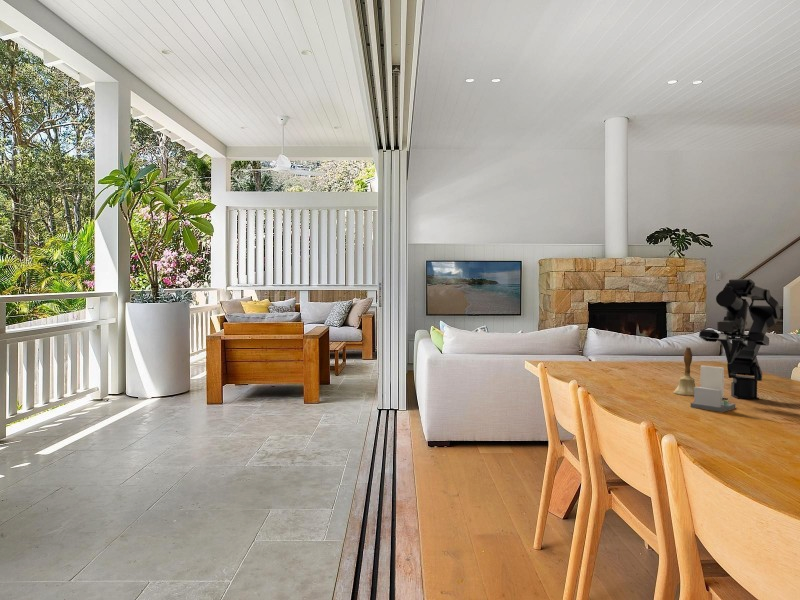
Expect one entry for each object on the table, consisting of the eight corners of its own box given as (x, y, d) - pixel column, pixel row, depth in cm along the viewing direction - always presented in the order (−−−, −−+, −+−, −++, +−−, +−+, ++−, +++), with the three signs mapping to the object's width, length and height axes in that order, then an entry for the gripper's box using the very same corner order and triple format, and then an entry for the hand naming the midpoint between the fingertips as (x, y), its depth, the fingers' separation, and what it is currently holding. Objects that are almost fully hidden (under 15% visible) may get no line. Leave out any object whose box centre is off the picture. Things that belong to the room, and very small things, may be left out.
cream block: (697, 400, 172) (697, 364, 172) (728, 405, 165) (729, 368, 165) (695, 400, 171) (695, 365, 171) (726, 405, 164) (727, 368, 164)
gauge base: (703, 403, 175) (704, 383, 175) (735, 407, 168) (735, 387, 168) (690, 407, 169) (690, 386, 169) (722, 412, 162) (723, 390, 162)
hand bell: (694, 391, 195) (694, 346, 195) (704, 396, 187) (705, 349, 187) (669, 391, 196) (670, 346, 196) (678, 395, 188) (679, 348, 188)
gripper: (695, 308, 182) (688, 354, 179) (760, 309, 167) (754, 360, 164) (709, 317, 188) (702, 362, 185) (772, 320, 174) (766, 368, 171)
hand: (729, 363), depth 176 cm, fingers closed
